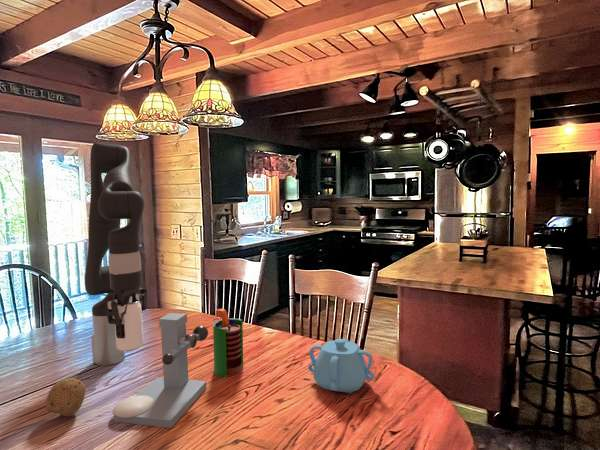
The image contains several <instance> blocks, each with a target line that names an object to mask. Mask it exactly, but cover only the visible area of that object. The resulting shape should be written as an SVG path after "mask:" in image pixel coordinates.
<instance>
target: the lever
mask: <svg viewBox="0 0 600 450" xmlns="http://www.w3.org/2000/svg"><path fill="white" fill-rule="evenodd" d="M208 330H209V329H207V327H206V326H204V325H197V326H196V327H194V329H193V330H192V334H190V333H189V334H186V337H185V340H184V341H183V342H182V343H181V344H180V345H178V346H177V347H176V348H174V349H173V350H172V351H170V352H169V353H167V354H165V355H164V356H162V359H161V360H162V364H163V363H164V364H165V365H170V364H171V363H172V362H173V361H174V360H175V359H176V358H177V357H178V356H180V355H181V354H182V353H183V352H185V351H186V350H187V351H188V349H194V348H196V345H197V343H198V342H202V341H203V342H204V341H205V340H206V339H207V338H208V336H209V331H208Z"/></svg>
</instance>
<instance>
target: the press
mask: <svg viewBox="0 0 600 450" xmlns="http://www.w3.org/2000/svg"><path fill="white" fill-rule="evenodd" d="M187 322H188V314H187V313H179V312H177V313H176V312H169V313H167V314H165V315H164V316H162V317H160V318H159V319H158V326H159V328H160V332H161V333H160V335H161V351H162V352H161V354H162V357H163V356H164V355H165V354H167V353H169V352H170V351H172V350H173V349H174V348H176V347H177V346H178V345H180V344H181V343H182V342H183V341H184V340H185V337H186V335H187ZM162 367H163V368H162V371H163V372H162V373H163V377H160V376H157V377H156V378H155V379H154V380H152V381H150V383H149V384H147V385H146V386H145V387H144V388H143V389H142V390H141V391H139V392H138V393H137V394H136V395H133V396H130V397H127V398H125V399H122V400H120V401H119V402H117V403H116V404H115V405H114V406H113V408H112V414H113V422H115V423H116V422H117V423H125V424H131V425H132V424H133V425H141V426H148V427H149V426H151V427H157V428H158V427H159V428H167V429H168V428H169V429H172V427H173V426H175V424H176V423H177V422H178V421H179V420H180V419H181V418H182V416H183V415H184V414H185V413H186V411H188V409H189V408H191V406H192V405H193V404H194V402H195V401H196V400H198V398H199V397H200V396H201V395H202V393H204V392H205V390H206V389H207V380H195V379H189V364H188V349H187V350H186V351H185V352H183V353H182V354H181V355H180V356H178V357H177V358H176V359H175V360H174V361H173V362H172V363H171V364H170V365H165V364H164V363H163V362H162Z"/></svg>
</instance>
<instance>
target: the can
mask: <svg viewBox="0 0 600 450" xmlns="http://www.w3.org/2000/svg"><path fill="white" fill-rule="evenodd" d="M126 305H128V307H127V311H126V314H125V315H124V320H125V323H124V327H125V338H123V339H122V338H117V336H116V347H117V349H118V350H119V351H124V352H132V351H136V350H137V349H140V348H142V347H143V344H144V331H143V328H144V327H143V313H142V311H141V305H142V304H141V305H140V303H139V300H138V301H137V302H136V301H133V302H132V303H131V304H126ZM126 305H124V306H123V307H122V306H119V307H118V311H119V317H120V319H121V316H122V314H121V313H123V312H124V311H125V306H126ZM115 335H116V326H115Z"/></svg>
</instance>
